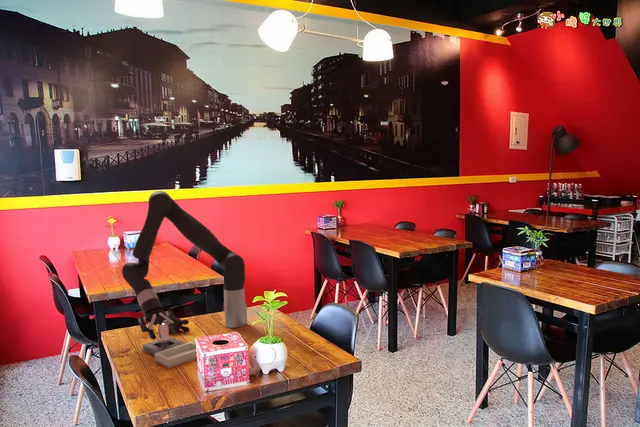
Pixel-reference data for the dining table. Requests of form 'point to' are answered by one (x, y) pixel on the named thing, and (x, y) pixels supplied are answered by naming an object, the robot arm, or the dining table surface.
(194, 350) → the tray
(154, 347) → the plate
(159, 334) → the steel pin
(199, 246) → the robot arm
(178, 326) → the brown lobed piece
